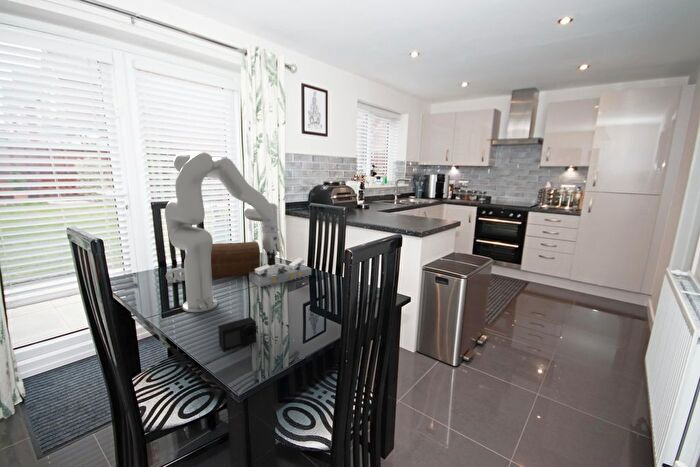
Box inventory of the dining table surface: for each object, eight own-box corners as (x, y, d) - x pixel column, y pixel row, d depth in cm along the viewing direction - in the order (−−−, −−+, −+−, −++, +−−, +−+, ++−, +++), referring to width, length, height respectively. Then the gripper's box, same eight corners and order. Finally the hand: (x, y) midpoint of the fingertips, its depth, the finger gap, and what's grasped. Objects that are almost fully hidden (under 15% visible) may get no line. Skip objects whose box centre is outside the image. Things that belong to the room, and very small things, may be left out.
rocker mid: (288, 270, 162) (289, 266, 162) (276, 268, 157) (277, 264, 157) (284, 268, 165) (285, 264, 165) (272, 266, 161) (273, 262, 161)
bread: (200, 270, 172) (198, 241, 169) (257, 265, 183) (256, 238, 180) (198, 280, 155) (196, 248, 152) (260, 275, 166) (260, 245, 163)
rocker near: (272, 270, 156) (271, 266, 155) (259, 275, 152) (258, 271, 151) (268, 268, 159) (267, 264, 159) (255, 272, 155) (254, 268, 154)
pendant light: (192, 279, 157) (188, 219, 151) (177, 285, 148) (172, 222, 142) (176, 276, 159) (172, 218, 153) (161, 283, 150) (156, 220, 144)
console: (311, 275, 167) (311, 266, 166) (260, 287, 148) (259, 277, 147) (299, 270, 176) (299, 261, 175) (249, 280, 157) (248, 270, 157)
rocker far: (305, 262, 168) (303, 259, 167) (294, 269, 164) (293, 266, 163) (300, 260, 171) (299, 257, 170) (290, 267, 168) (288, 264, 167)
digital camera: (224, 354, 94) (223, 332, 92) (218, 346, 98) (217, 325, 97) (258, 343, 100) (257, 322, 99) (251, 336, 104) (250, 316, 103)
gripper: (284, 230, 151) (285, 267, 155) (269, 225, 162) (271, 259, 166) (269, 232, 146) (271, 270, 150) (255, 227, 157) (257, 262, 161)
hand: (271, 264), depth 158 cm, fingers closed
